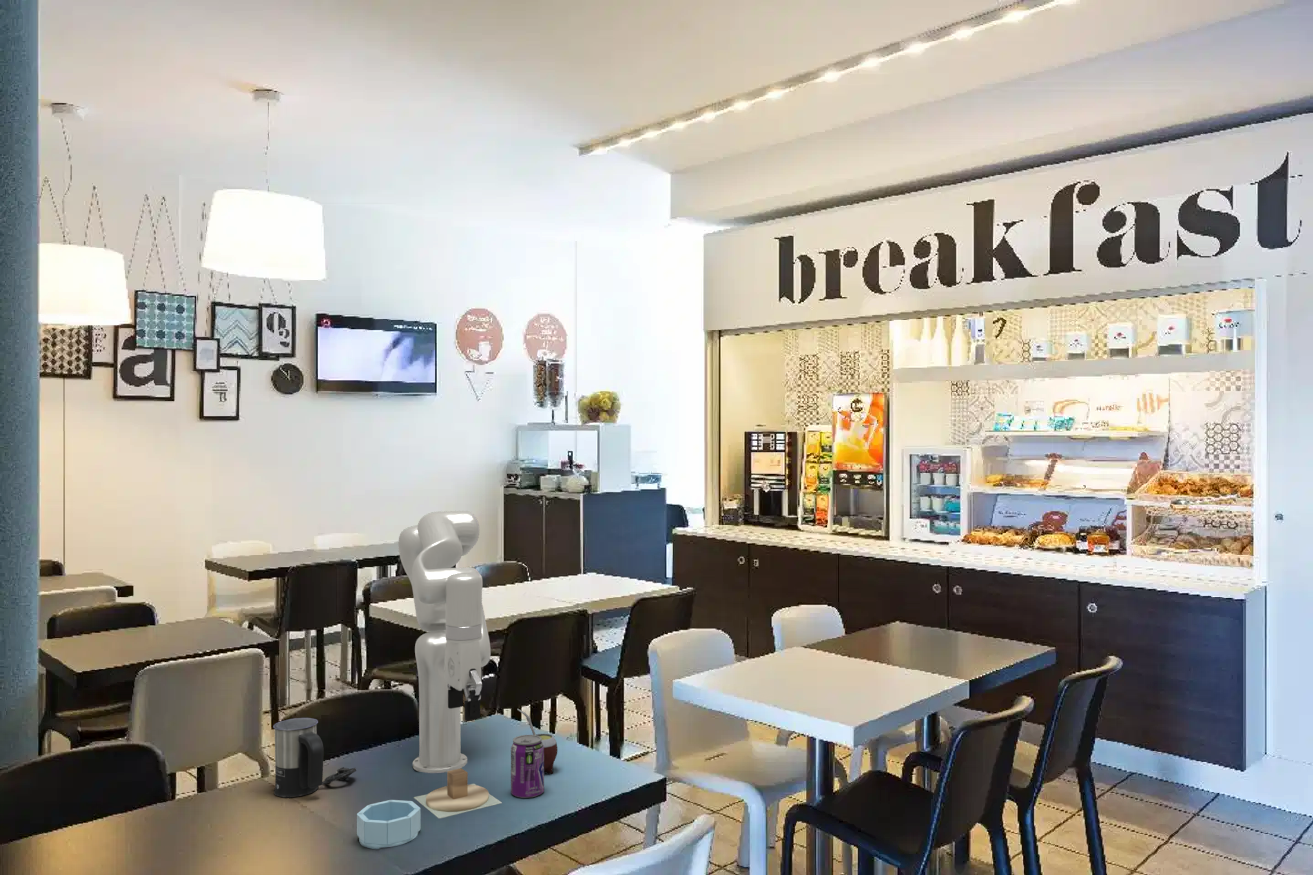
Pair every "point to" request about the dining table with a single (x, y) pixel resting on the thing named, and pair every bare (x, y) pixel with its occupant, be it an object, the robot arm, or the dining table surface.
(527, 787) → the beverage can
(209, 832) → the dining table surface
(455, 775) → the lid
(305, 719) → the milk frother
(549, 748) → the mate gourd
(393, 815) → the bowl
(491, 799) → the mat
